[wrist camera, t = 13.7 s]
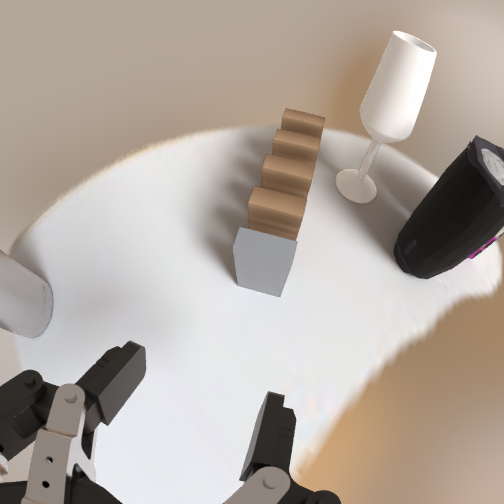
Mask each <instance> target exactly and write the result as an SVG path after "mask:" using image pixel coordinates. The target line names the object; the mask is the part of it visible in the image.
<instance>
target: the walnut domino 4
mask: <svg viewBox="0 0 504 504" xmlns="http://www.w3.org/2000/svg"><path fill="white" fill-rule="evenodd" d="M306 202H307V199H303V198H300V197H296V196H292V195H288V194H284V193H280V192H277V191H273V190H269V189H265V188H260V187H256V186H254V189H253V192H252V194H251V197H250V199H249V202H248V225H249V229H250V230H254V231H258V232H262V233H266V234H270V235H274V236H278V237H282V238H285V239H289V240H293V241H296V238H297V235H298V232H299V229H300V225H301V222H302V219H303V215H304V211H305V207H306Z"/></svg>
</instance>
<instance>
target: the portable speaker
mask: <svg viewBox="0 0 504 504" xmlns="http://www.w3.org/2000/svg"><path fill="white" fill-rule="evenodd" d="M503 227H504V149H503V148H501V147H498V146H496V145H494V144H492V143H490V142H488V141H487V140H485V139H482V138H480V137H478V136H477V135H476V136H475V138H474V139H473V141H472V143H471V141H470V143H469V144H468V146H467V148H466V149H465V150H464V151H463V152H462V153H461V154H460V155H459V156H458V157H457V158H456V159H455V160H454V161H453V162H452V164H451V165H450V166H449V167H448V168H447V169H446V170H445V172H444V173H443V174H442V176H441V177H440V178H439V180H438V181H437V182H436V184H435V185H434V186H433V188H432V189H431V190H430V191H429V193H428V194H427V195H426V197H425V198H424V199H423V200H422V202H421V203H420V204H419V205H418V207H417V208H416V209H415V210H414V212H413V214H412V215H411V217H410V218H409V220H408V221H407V223H406V224H405V226H404V227H403V229H402V230H401V232H400V233H399V235H398V238H397V242H396V245H395V248H394V254H395V257H396V260H397V263H398V265H399V266H400V267H401V269H402V270H403V271H404V272H406V273H411V274H412V275H414V276H416V277H418V278H422V279H429V278H431V277H434V276H436V275H439V274H441V273H443V272H445V271H448V270H450V269H452V268H454V267H455V266H457V265H458V264H459V263H461V262H462V261H464V260H465V259H466V258H468V257H469V256H470V255H472V254H473V253H474V252H476V251H477V250H478V249H480V248H481V247H482V246H483V245H485V244H486V243H487V242H489V241H490V240H491V239H492V238H494V237H495V236H496V235H497V234H498V232H499V231H500V230H501V229H502V228H503Z"/></svg>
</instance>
